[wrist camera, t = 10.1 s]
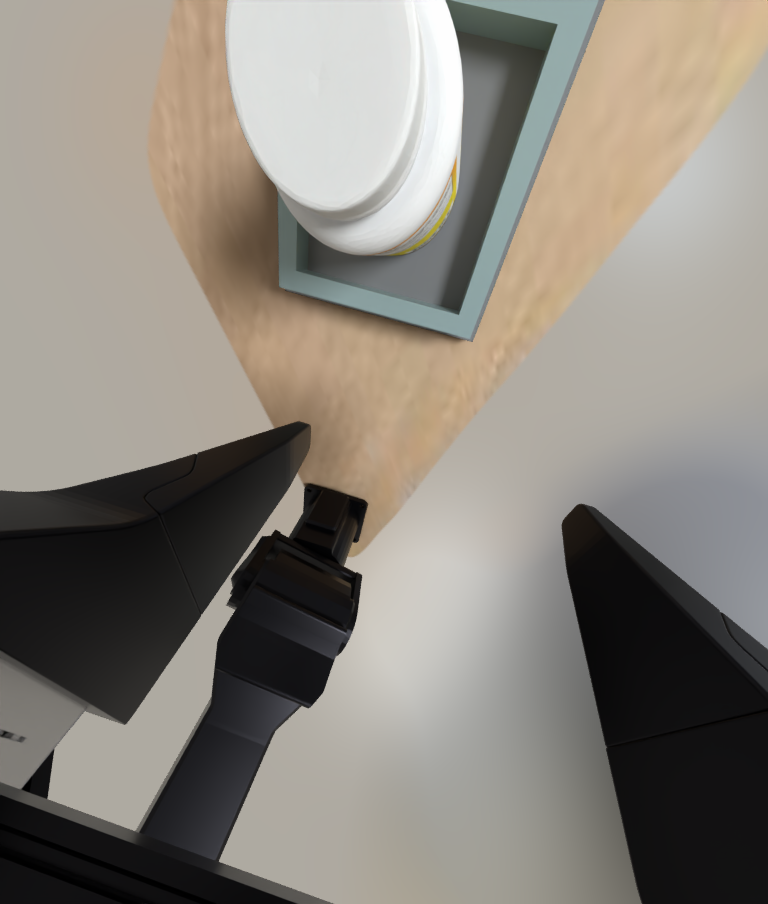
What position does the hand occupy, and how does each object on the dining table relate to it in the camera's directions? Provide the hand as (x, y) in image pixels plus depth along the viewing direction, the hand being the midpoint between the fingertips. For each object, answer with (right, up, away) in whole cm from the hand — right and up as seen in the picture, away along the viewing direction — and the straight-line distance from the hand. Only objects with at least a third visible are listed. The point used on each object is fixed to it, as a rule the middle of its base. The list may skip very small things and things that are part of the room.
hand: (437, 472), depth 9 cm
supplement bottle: (-1, +14, +5) cm, 15 cm away
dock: (-1, +14, +5) cm, 15 cm away
